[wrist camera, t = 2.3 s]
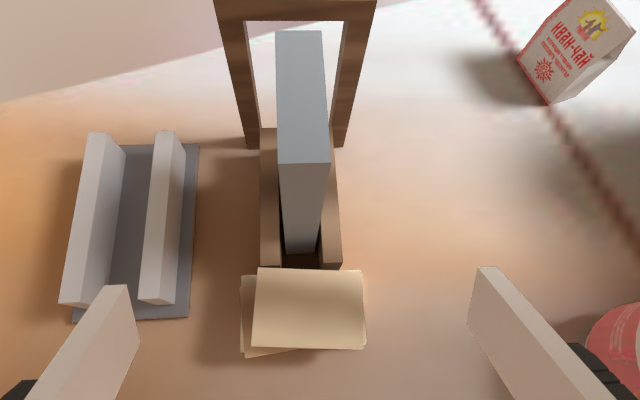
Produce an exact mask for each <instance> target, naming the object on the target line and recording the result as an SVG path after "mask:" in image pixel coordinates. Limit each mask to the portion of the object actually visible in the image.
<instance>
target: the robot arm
mask: <svg viewBox="0 0 640 400" xmlns="http://www.w3.org/2000/svg"><path fill="white" fill-rule="evenodd" d="M467 324H468V326H469V328H470V329H471V331H472V333H473V334H474V336H475V337H476V339H477V341H478V342H479V344H480V345H481V347H482V349H483V350H484V352H485V353H486V355H487V357H488V358H489V360H490V361H491V363H492V365H493V366H494V368H495V369H496V371H497V373H498V374H499V376H500V377H501V379H502V381H503V382H504V384H505V385H506V387H507V389H508V390H509V392H510V393H511V395H512V397H513V398H514V400H638V399H637V398H636V397H635V396H634V395H633V394H632V393H631V391H630V390H629V389H628V388H627V387H626V386H625V385H624V384H621V383H620V380H619V379H618V378H617V377H616V376H615V375H614V374H613V373H612V372H610V371H609V369H608V367H607V366H606V365H605V364H604V363H603V362H602V361H601V360H600V359H599V358H598V357H597V356H596V355H595V354H593V353H592V352H590V351H589V350H587V349H586V348H584V347H583V346H581V345H580V344H578V343H565V342H564V340H563V339H562V338H561V337H560V336H559V335H558V334H557V333H556V332H555V330H554V329H553V328H552V327H551V326H550V325H549V324H548V323H547V322H546V320H545V319H544V318H543V317H542V316H541V315H540V314H539V313H538V312H537V310H536V309H535V308H534V307H533V306H532V305H531V304H530V303H529V302H528V300H527V299H526V298H525V297H524V296H523V295H522V294H521V293H520V292H519V290H518V289H517V288H516V287H515V286H514V285H513V284H512V283H511V282H510V280H509V279H508V278H507V277H506V276H505V275H504V274H503V273H502V272H501V271H500V269H499V268H498V267H497V266H492V267H478V268H477V273H476V278H475V283H474V289H473V294H472V299H471V304H470V309H469V314H468V319H467ZM140 343H141V342H140V338H139V334H138V330H137V325H136V321H135V317H134V313H133V309H132V305H131V301H130V297H129V292H128V288H127V284H123V285H104V287H103V288H102V290H101V291H100V292H99V294H98V295H97V297H96V298H95V300H94V301H93V302H92V304H91V305H90V307H89V308H88V309H87V311H86V312H85V314H84V315H83V317H82V318H81V319H80V321H79V322H78V324H77V325H76V327H75V328H74V329H73V331H72V332H71V334H70V335H69V336H68V338H67V339H66V341H65V342H64V344H63V345H62V346H61V348H60V349H59V351H58V352H57V353H56V355H55V356H54V358H53V359H52V361H51V362H50V363H49V365H48V366H47V368H46V369H45V371H44V372H43V373H42V375H41V376H40V378H39V379H37V380H22V381H21V382H20V383H19V384H17V385H16V386H15V387H14V388H13V389H11V390H10V391H9V392H8V393H6V394H5V395H4V396H3V397H2V398H1V399H0V400H115V398H116V396H117V394H118V391H119V389H120V387H121V385H122V383H123V381H124V378H125V376H126V374H127V372H128V370H129V367H130V365H131V363H132V361H133V359H134V357H135V354H136V352H137V350H138V348H139V346H140Z"/></svg>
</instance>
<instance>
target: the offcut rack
mask: <svg viewBox="0 0 640 400" xmlns="http://www.w3.org/2000/svg"><path fill="white" fill-rule="evenodd" d="M213 3H214V8H215V12H216V16H217V20H218V25H219V29H220V33H221V37H222V41H223V46H224V50H225V54H226V59H227V63H228V67H229V71H230V76H231V80H232V84H233V88H234V93H235V97H236V101H237V105H238V110H239V114H240V118H241V122H242V127H243V131H244V135H245V139H246V144H247V148H248V149H260V267H258V270H257V275H241V288H239V295H240V306H241V315H240V353H244V352H245V359H247V358H253V357H258V356H264V355H270V354H275V353H281V352H287V351H293V350H298V349H309V348H314V349H346V350H363V345H367V338H366V328H365V317H364V307H363V272H360V270H343V271H339V269H340V267H341V265H342V263H343V256H342V243H341V231H340V218H339V206H338V194H337V181H336V169H335V156H334V147H343V145H344V141H345V136H346V132H347V128H348V123H349V119H350V115H351V111H352V106H353V102H354V98H355V94H356V89H357V85H358V81H359V76H360V72H361V68H362V64H363V59H364V55H365V51H366V46H367V42H368V38H369V34H370V29H371V25H372V21H373V17H374V12H375V8H376V4H377V0H213ZM246 21H344V24H343V31H342V38H341V44H340V51H339V58H338V65H337V72H336V78H335V85H334V92H333V99H332V105H331V112H330V119H329V138H330V151H331V167H330V172H329V177H328V183H327V188H326V193H325V198H324V203H323V209H322V214H321V219H320V224H319V229H318V235H317V237H318V255H319V270H311V269H287V268H282V248H281V204H280V182H279V171H278V148H277V128H262V126H261V119H260V112H259V106H258V99H257V92H256V86H255V79H254V72H253V66H252V59H251V52H250V46H249V39H248V32H247V26H246Z"/></svg>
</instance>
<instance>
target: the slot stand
mask: <svg viewBox="0 0 640 400" xmlns="http://www.w3.org/2000/svg"><path fill="white" fill-rule="evenodd" d="M198 162H199V146H198V144H181V143H180V141H179V139H178V138H177V136H176V134H175V132H174V131H156V134H155V143H154V145H118V144H117V143H116V142H115V141H114V140H113V138H112V137H111V136H110V135H109V134H108V133H107V132H89V133H88V139H87V144H86V150H85V155H84V161H83V166H82V172H81V177H80V183H79V188H78V194H77V199H76V205H75V210H74V216H73V221H72V227H71V232H70V238H69V243H68V249H67V254H66V260H65V265H64V271H63V277H62V282H61V288H60V293H59V299H58V303H59V304H64V305H69V306H74V307H73V313H72V319H71V323H78V322H79V321H80V319H81V318H82V317H83V315H84V314H85V312H86V311H87V309H88V308H89V307H90V305H91V304H92V302H93V301H94V300H95V298H96V297H97V295H98V294H99V292H100V291H101V290H102V288H103V287H104V285H123V284H127V288H128V292H129V297H130V301H131V305H132V309H133V313H134V317H135V320H145V319H164V318H182V317H189V308H190V291H191V275H192V259H193V243H194V226H195V210H196V194H197V178H198Z"/></svg>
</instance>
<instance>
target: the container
mask: <svg viewBox="0 0 640 400" xmlns="http://www.w3.org/2000/svg"><path fill="white" fill-rule="evenodd" d="M584 348H586V349H587V350H589V351H590V352H592V353H593V354H595V355H596V356H597V357H598V358H599V359H600V360H601V361H602V362H603V363H604V364H605V365H606V366H607V367H608V369H609V371H610V372H612V373H613V374H614V375H615V376H616V377H617V378H618V379H619V380H620V383H621V384H624V385H625V386H626V387H627V388H628V389H629V390H630V391H631V393H632V394H633V395H634V396H635V397H636V398H637V399H638V400H640V302H635V303H630V304H625V305H622V306H618V307H615V308H613V309H612V310H610V311H608V312H607V313H606V314H605V315H603V316H602V317H601V318H600V319H599V320H598V321H597V322H596V323H595V324H594V326H593V328H592V329H591V331H590V333H589V335H588V336H587V339H586V342H585V347H584Z"/></svg>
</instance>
